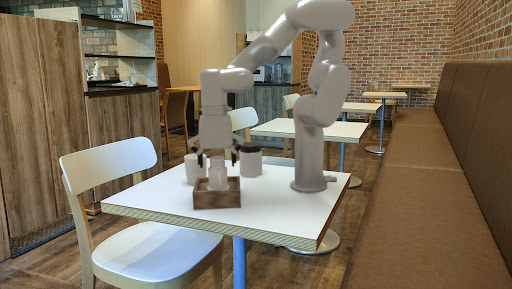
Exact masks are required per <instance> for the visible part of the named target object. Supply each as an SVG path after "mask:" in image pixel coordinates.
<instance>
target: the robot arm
mask: <svg viewBox="0 0 512 289" xmlns="http://www.w3.org/2000/svg"><path fill="white" fill-rule="evenodd" d="M356 15H357V14H356V10H355V7H354V5H353V3H351V2H350V1H349V0H298V1H295V2H292V3H290V4H288V5H287V6H285V8H283V10H281V12H279V14H278V15H277V16H276V17H275V18H274V20H272V22H271V23H270V24H269V25H268V26H267V27H265V29H264V30H263V31H262V32H261V33H260V34H259V35H258V36H257V37H255V39H254V40H252V41H251V42H250V43H249V44H248V45H247V46H246V47H245V48H244V49H243V50H242V51H241V52H239V54H237V55H236V56H235V57H234V58H233V60H232V61H231V62H230V63H229V64H228V65H227V66H226V67H225V68H224V69H223V68H204V69H201V71H200V73H199V83H200V98H201V101H200V102H201V115H199V123H198V134H196V135H195V136H193V137H191V138H190V139H187V145H188V147H189V148H190V150H191V151H192V152H194V154H195V153H196V155H197V157H198V165H200V168H203V154H204V153H202V152H203V151H204V150H219V149H220V150H222V149H229V151H230V152H231V154H230V155H231V167H233V168H235V164H237V153H238V152H239V150H240V149H241V148H242V145H243V143H244V142H245V141H246V139H245V138H244V137H242V136H241V135H238V134H236V133H234V132H233V123H232V117H231V114H229V112H233V106H231V105H230V106H229V105H228V97H227V95H228V93H236V94H244V93H247V92H249V91H250V90H252V88H253V87H254V84H255V77H254V72H256V71H257V70H258V69H260V68H261V67H263V66H264V65H265V64H267V63H269V62H271V61H274V60H275V59H277V58H278V57H279V56H281V55H282V54H283V52H284V51H285V50H286V49H287V48H288V47H289V46H290V45H291V44H292V43H293V42H294V40H296V39H297V37H298V36H299V35H301V33H302V32H304V31H305V32H306V31H315V32H316V34H317V37H318V47H317V51H316V55H315V57H314V60H313V62H312V65H311V67H310V70H309V73H308V76H307V84H308V87H309V88H310V89H311V90H312V91H315V92H317V94H309V93H308V94H303V95H300V96H299V97H297V99H295V101H294V103H293V106H292V118H293V122H294V180H292V181H290V183H289V184H290V185H289V186H290V189H291V190H293V191H295V192H298V193H304V194H316V193H321V192H325V191H326V190H327V189H328V183H337V182H338V177H337V176H332V175H328V174H327V175H325V174H324V152H325V151H324V148H325V147H324V146H325V145H324V144H325V143H324V142H325V134H324V128H328V127H331V126H332V125H334V123H336V122H337V120H338V118H339V117H340V113H341V112H342V109H343V107H344V103H345V102H346V98H347V95H348V93H349V90H350V87H351V84H352V83H351V82H352V75H351V71H350V69H349V68H348V66H347V65H345V64H344V63H343V62H342V61H343V58H344V57H345V56H344V55H345V53H346V40H345V36H344V34H343V31H344V30H346V29H349V28H350V27H351V26H352V25H353V23H354V22H355V19H356ZM234 139H235V140H237V141H238V144H237V145H236V146H234V144H233V143H234ZM196 141H198V144H199V147H197V146H196V145H195V144H194V143H195V142H196Z"/></svg>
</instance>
